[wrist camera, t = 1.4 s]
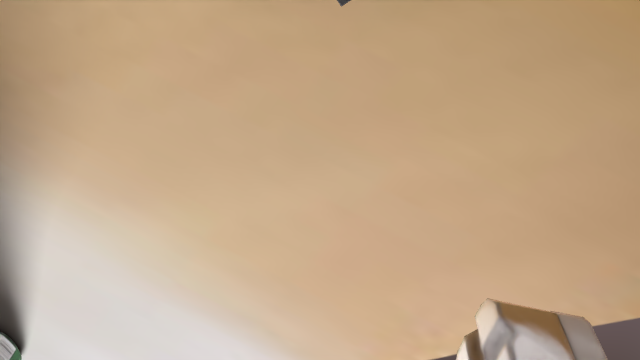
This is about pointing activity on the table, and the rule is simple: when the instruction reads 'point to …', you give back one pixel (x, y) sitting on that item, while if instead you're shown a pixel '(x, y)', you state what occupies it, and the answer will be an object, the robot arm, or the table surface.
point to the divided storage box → (343, 2)
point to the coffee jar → (8, 348)
